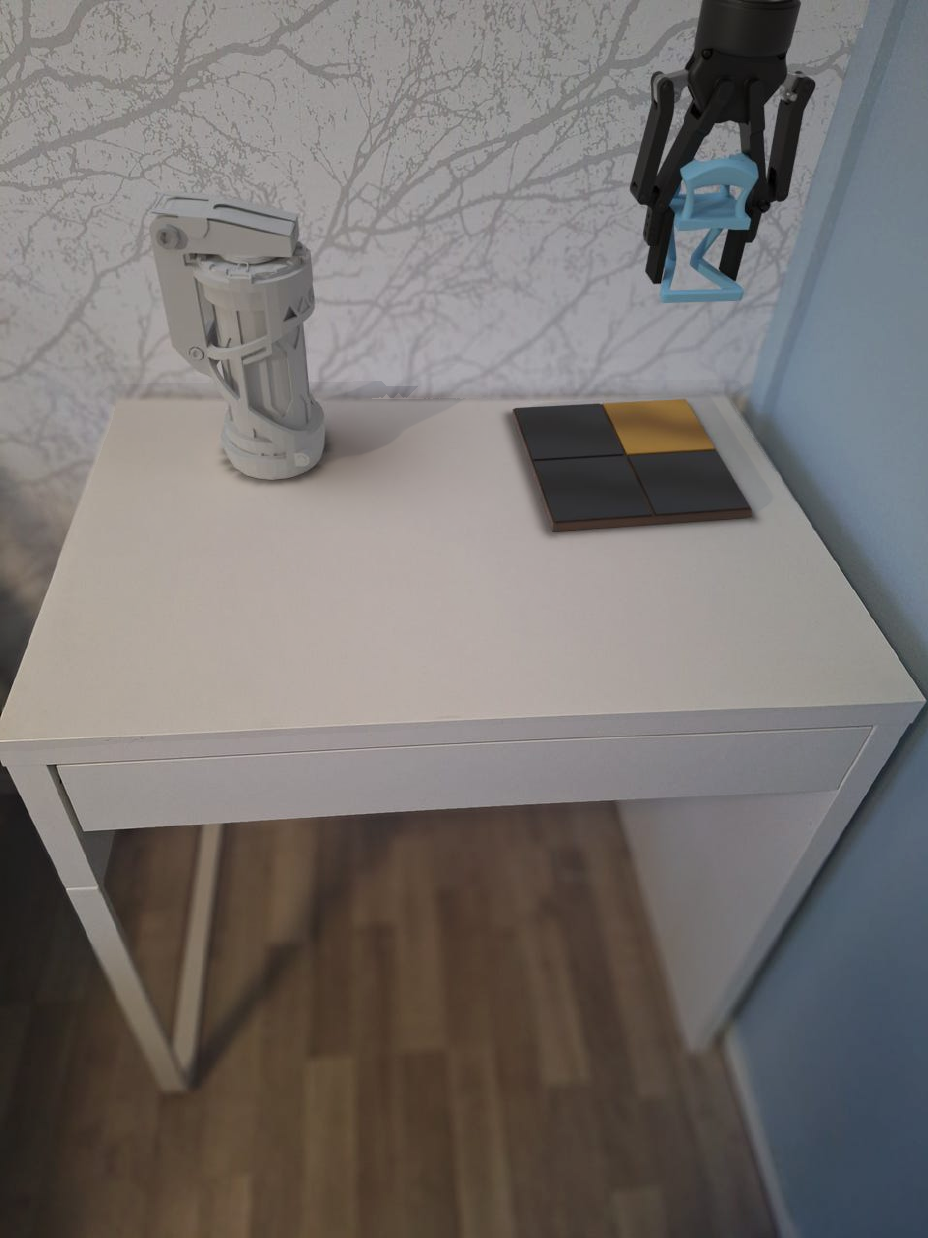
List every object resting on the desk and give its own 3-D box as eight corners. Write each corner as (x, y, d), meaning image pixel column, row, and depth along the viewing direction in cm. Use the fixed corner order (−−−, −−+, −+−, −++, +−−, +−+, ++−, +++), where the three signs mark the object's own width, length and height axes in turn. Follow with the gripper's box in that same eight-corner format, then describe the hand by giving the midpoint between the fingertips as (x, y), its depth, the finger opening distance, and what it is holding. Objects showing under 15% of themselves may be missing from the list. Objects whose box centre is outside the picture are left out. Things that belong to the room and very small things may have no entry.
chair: (718, 262, 91) (746, 131, 83) (743, 301, 85) (775, 164, 77) (641, 264, 91) (661, 132, 82) (661, 303, 85) (685, 166, 76)
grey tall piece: (332, 425, 99) (314, 184, 81) (320, 484, 91) (297, 232, 74) (211, 420, 99) (166, 177, 81) (189, 479, 91) (135, 225, 74)
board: (749, 517, 90) (753, 508, 90) (552, 531, 88) (553, 522, 87) (684, 406, 104) (686, 397, 103) (511, 416, 102) (512, 406, 101)
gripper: (849, -21, 75) (771, 256, 92) (618, -24, 72) (580, 262, 89) (893, 1, 70) (802, 290, 86) (646, -1, 67) (600, 298, 84)
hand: (690, 275), depth 88 cm, fingers closed on chair, 7 cm apart
